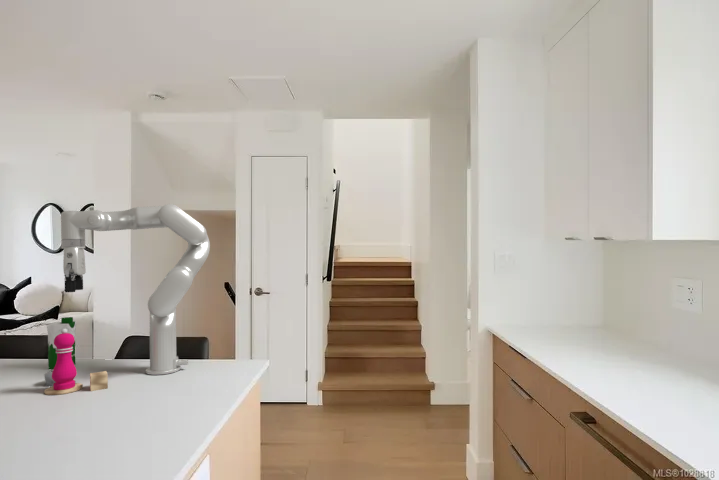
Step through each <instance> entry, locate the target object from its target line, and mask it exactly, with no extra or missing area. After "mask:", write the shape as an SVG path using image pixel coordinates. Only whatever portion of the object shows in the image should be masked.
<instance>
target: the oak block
mask: <svg viewBox="0 0 719 480" xmlns="http://www.w3.org/2000/svg"><path fill="white" fill-rule="evenodd" d="M108 377H109V375H108V372H107V370H104V371H95V372H90V373H89V388H90V389H89V390H90V392H95V391H100V390H107V389H108V388H109V386H108V385H109V384H108V383H109V381H108V380H109V379H108Z"/></svg>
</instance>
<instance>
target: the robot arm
mask: <svg viewBox="0 0 719 480" xmlns="http://www.w3.org/2000/svg"><path fill="white" fill-rule="evenodd" d="M160 228H161V229H163V228H168V229H170V230H171V231H172V232H173V233H175V234H176V235H177V236H179V237H180V238H182V239H183V240H185V242H187V249H186V251H185V252H184V253H183V254H182V255H181V257H180V259H179V260H178V261H177V262H176V264H175V265H174V267H173V268H171V269H170V270H169V271H168V273H167V274H166V275H165V277H164V278H163V279H162V281H161V282H160V284H159V285H158V286H157V287H156V289H155V290H154V292H153V293H152V294H151V296H150V297H149V299H148V300H147V309H148V311H149V367H147V368H146V369H145V373H146V374H147V375H151V376H154V375H156V376H157V375H158V376H159V375H168V374H172V373H176V372H179V371H180V370H181V368H182V366H188V365H189V359H180V358H179V355H177V306H178V304H179V303H180V302H181V301H182V299H183V298H184V296H186V294H187V292H188V291H189V289H190V288H191V286H192V284H193V280H194V279H195V277H196V276H197V275H198V273H199V271H200V270H201V268H202V267H203V265H204V264H205V262H206V261H207V259H208V257H209V255H210V250H211V242H210V238H209V235H208V233H207V232H208V231H207V229H206V227H205V226H204V225H203V224H202V223H200V222H199V221H198V220H196V218H193V216H191V215H190V214H188V213H187V212H185V211H184V210H183V209H181V208H180V207H179V206H178V205H176V204H174V203H167V204H164V205H157V206H156V205H155V206H154V205H153V206H137V207H132V208H129V209H126V210H117V211H101V210H98V209H93V210H91V209H90V210H82V211H81V210H80V211H79V210H64V211H62V212H61V214H60V239H61V241H60V244H61V246H60V247H61V250H62V249H63V264H62V265H63V266H62V267H63V274H64V275H63V276H64V293H75V292H76V291H83V289H84V276H83V275H85V274H86V273H87V272H86V256H85V251H84V249H86V230H90V231H96V232H107V231H108V232H109V231H123V230H124V231H126V230H132V231H133V230H145V229H160Z"/></svg>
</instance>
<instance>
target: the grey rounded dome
mask: <svg viewBox="0 0 719 480" xmlns="http://www.w3.org/2000/svg"><path fill="white" fill-rule="evenodd" d="M52 372H53V370H50V371H47V372H45V373H44V374H43V376H44V383H45V385H44V386H45V387H49V386H50V387H52V386H53V384H54V383H55V381H54V380H53V379H52Z"/></svg>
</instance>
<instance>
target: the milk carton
mask: <svg viewBox="0 0 719 480" xmlns="http://www.w3.org/2000/svg"><path fill="white" fill-rule="evenodd" d="M60 319H61V321H56V322H52V323H49V324H47V325H46V330H47V355H48V356H47V357H48V358H47V366H48V367H47V369H48V370H53V369H54V367H55V365H56V362H57V353H56V348H57V347H56V346H55V345H54V339H55V337H56V336H57V335H59V334H62V333H61V330H62V329H67V333H70V334H72V335H73V336H74V339H75V340H76V327H77V321H75V320H74V317H73V316H67V317H61V318H60ZM72 347H73V348H72V349H73V351H72V353H71V356H72V361H73V363H74V365H76V341H75V342H74V344H73V345H72Z"/></svg>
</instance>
